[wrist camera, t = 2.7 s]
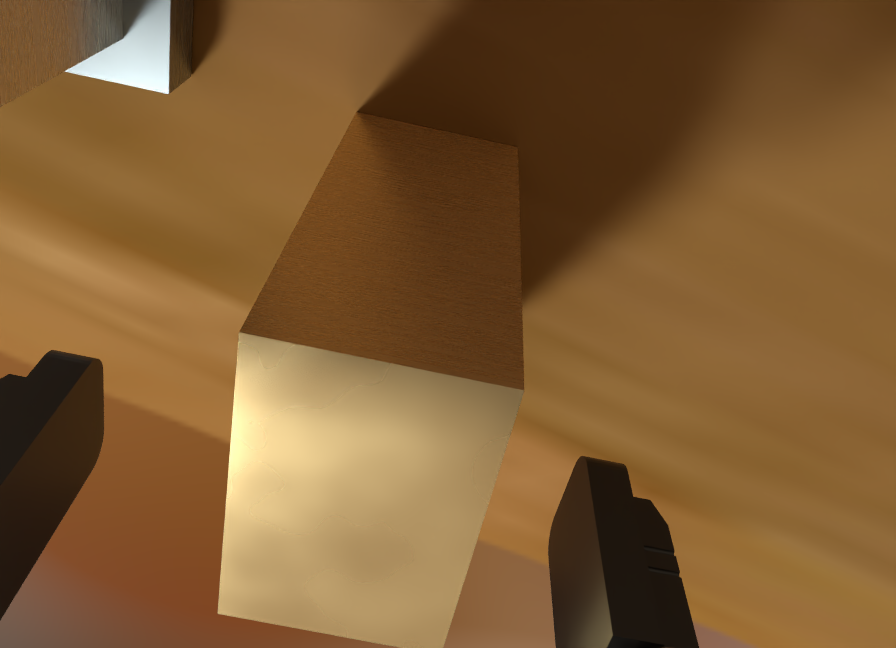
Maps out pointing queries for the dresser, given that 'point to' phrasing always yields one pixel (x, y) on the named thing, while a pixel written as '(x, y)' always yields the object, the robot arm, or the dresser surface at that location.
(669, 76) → the dresser surface
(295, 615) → the brass block
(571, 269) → the dresser surface
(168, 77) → the vise
